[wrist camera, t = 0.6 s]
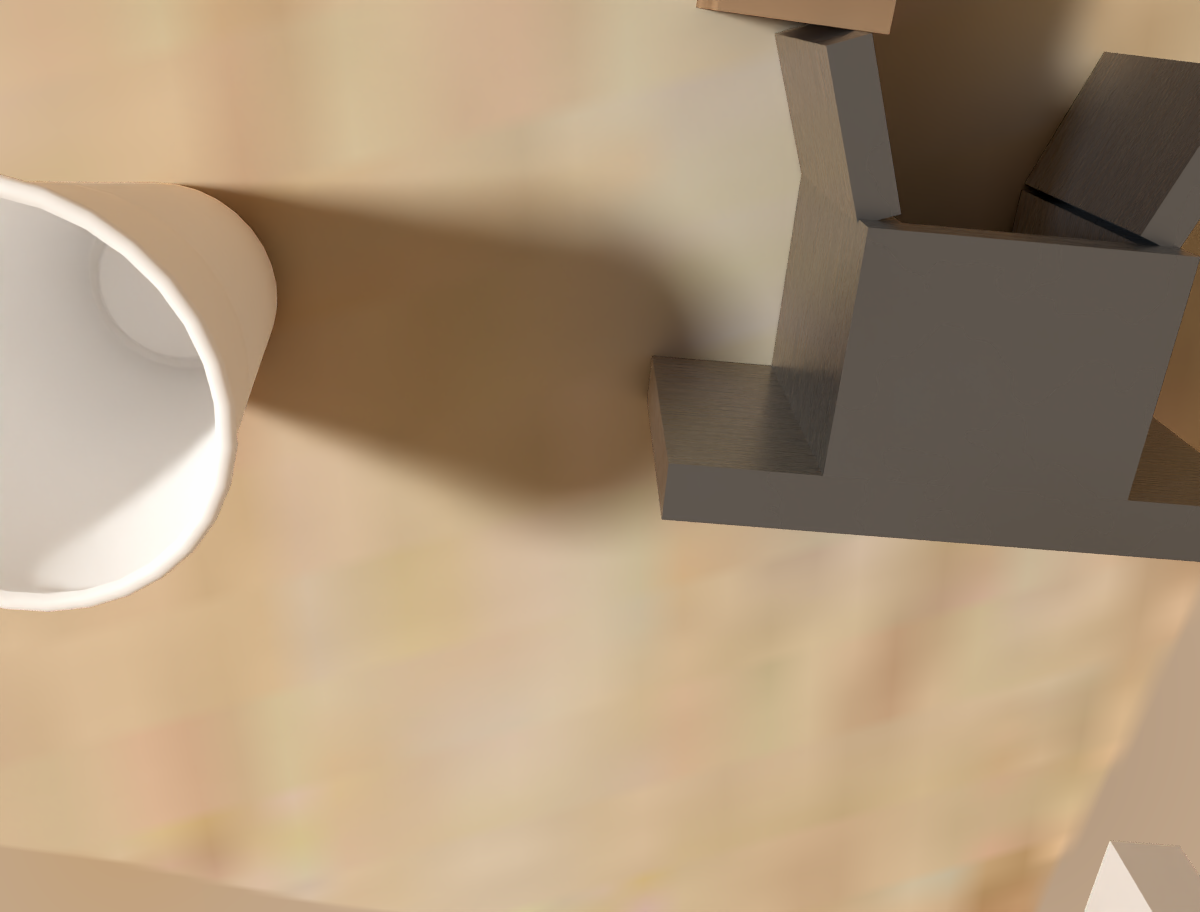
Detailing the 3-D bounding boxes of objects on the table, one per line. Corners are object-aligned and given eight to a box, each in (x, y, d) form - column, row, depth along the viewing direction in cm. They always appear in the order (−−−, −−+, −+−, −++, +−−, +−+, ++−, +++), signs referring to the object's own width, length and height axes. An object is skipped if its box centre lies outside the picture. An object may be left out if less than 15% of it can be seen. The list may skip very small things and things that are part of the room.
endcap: (690, 11, 31) (722, 19, 23) (1220, 63, 31) (1430, 87, 23) (646, 401, 35) (661, 519, 27) (1112, 439, 36) (1257, 566, 28)
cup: (358, 147, 32) (247, 220, 22) (329, 459, 36) (223, 644, 26) (6, 83, 31) (-275, 128, 21) (14, 408, 35) (-222, 578, 25)
